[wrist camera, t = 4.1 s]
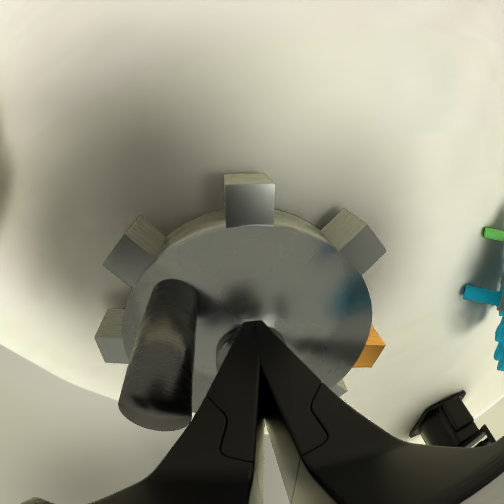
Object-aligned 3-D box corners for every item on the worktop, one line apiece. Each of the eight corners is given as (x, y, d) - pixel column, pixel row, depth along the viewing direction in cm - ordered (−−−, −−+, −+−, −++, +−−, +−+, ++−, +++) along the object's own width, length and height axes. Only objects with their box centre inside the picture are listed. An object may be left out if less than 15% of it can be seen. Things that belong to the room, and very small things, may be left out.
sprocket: (411, 298, 15) (486, 384, 8) (248, 420, 18) (261, 512, 11) (243, 102, 10) (288, 54, 3) (68, 318, 13) (12, 426, 6)
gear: (502, 332, 18) (510, 402, 10) (451, 321, 21) (441, 388, 14) (529, 213, 15) (570, 236, 7) (472, 202, 18) (486, 217, 11)
